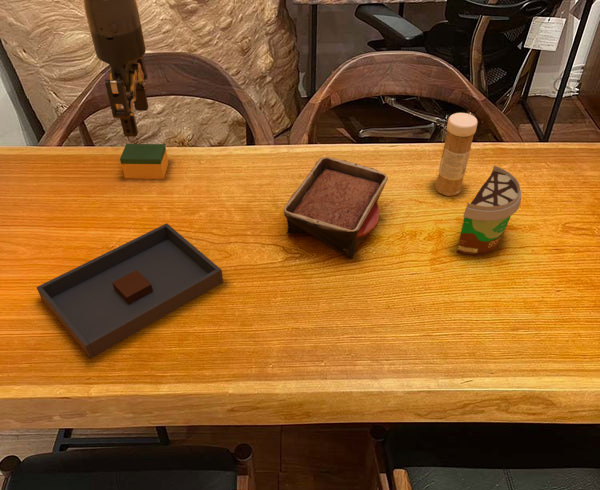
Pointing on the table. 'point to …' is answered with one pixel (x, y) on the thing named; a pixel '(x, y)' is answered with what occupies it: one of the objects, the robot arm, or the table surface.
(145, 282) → the burnt scrap
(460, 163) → the sprinkles bottle
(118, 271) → the pan
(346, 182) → the soil filled planter
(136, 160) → the sponge
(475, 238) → the food container
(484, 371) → the table surface
